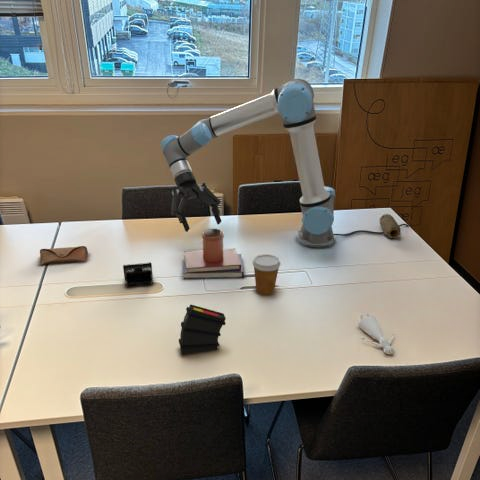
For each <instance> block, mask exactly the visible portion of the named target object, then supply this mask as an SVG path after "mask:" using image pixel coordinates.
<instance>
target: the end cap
mask: <svg viewBox="0 0 480 480" xmlns="http://www.w3.org/2000/svg"><path fill="white" fill-rule="evenodd" d="M122 269H123V277H124V278H123V279H124V281H125V283H126V288H128V289H130V288H137V287H147V286H153V285H154V284H153V279H154V275H153V265H152V262H151V261H150V262H140V263H129V264H123V265H122Z"/></svg>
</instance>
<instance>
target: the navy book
mask: <svg viewBox="0 0 480 480" xmlns="http://www.w3.org/2000/svg"><path fill="white" fill-rule="evenodd" d="M237 254H238V257H239V260H240V263H241V270H231V271H216V272H201V273H187V271H186V265H185V259H183V273H182V275H183V280H212V279H215V280H216V279H218V280H219V279H244V275H245V272H244V264H243V258H242V257H243V256H242V253H237Z"/></svg>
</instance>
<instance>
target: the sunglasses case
mask: <svg viewBox="0 0 480 480" xmlns="http://www.w3.org/2000/svg"><path fill="white" fill-rule="evenodd" d="M39 255H40V256H39V258H40V259H39V263H38V265H39V266H47V265H59V264H60V265H61V264H75V263H83V262H87V261H88V258H89V252H88V248H87V246H85V245H79V246H69V247H68V246H67V247H56V248H40V250H39Z"/></svg>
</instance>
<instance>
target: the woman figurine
mask: <svg viewBox="0 0 480 480" xmlns="http://www.w3.org/2000/svg"><path fill="white" fill-rule="evenodd" d="M359 319H360V320H359V322H358V327H359V328H360V329H362V331H363V332H364V333H366V334H367V335H369V336H370V337H371V338H372V339H374V340H376V341H378V342H379V343H378V342H375V341H372V340H368V339H366V338H365V336H362V337H360V339H359V340H361V341H365V342H367V343H370V344H372V345H375V346H377V347H379V348H382V349H383V353H384V354H386V355H392V354H394V352H395V350H394V347H393V346H392V345H391V343H392V340H393V339H394V337H395V335H396V333H395V332H393V333H392V336H391V337H390V338H389V340H388V338H387V337H384V336H385V335H384V333H383V330H382V328H381V326H380V324H379V322H378V319H377V317H376V316H374V315H370V314H369V313H367V314H366V316H363V314H360V317H359Z"/></svg>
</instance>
